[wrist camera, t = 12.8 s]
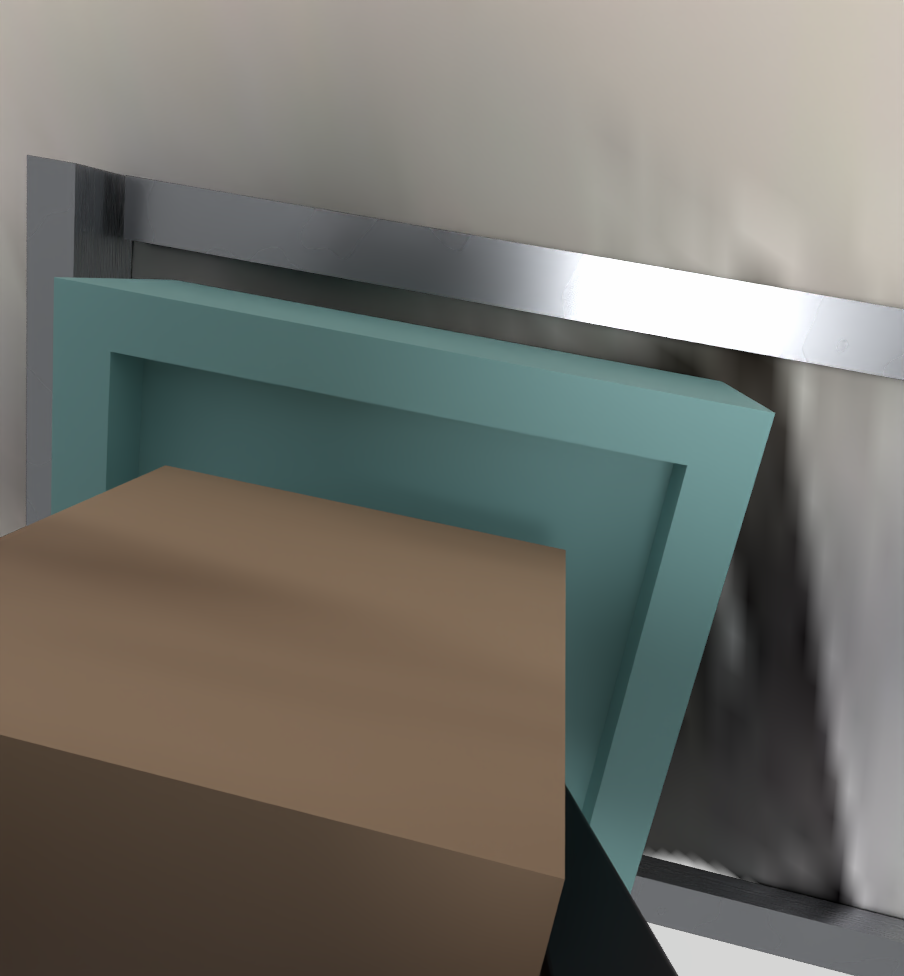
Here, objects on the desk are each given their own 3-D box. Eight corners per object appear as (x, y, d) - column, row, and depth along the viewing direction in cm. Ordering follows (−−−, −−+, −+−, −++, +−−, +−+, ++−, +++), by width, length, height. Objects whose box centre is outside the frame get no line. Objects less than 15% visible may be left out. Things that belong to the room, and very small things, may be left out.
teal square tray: (591, 822, 15) (599, 996, 11) (167, 717, 15) (46, 847, 12) (712, 375, 12) (774, 413, 8) (196, 280, 13) (53, 277, 9)
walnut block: (487, 887, 10) (416, 1438, 5) (145, 799, 10) (-208, 1227, 6) (565, 550, 9) (564, 879, 4) (165, 465, 9) (-284, 661, 4)
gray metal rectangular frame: (1129, 1021, 14) (1199, 1110, 12) (77, 752, 16) (25, 801, 15) (1487, 412, 11) (1643, 432, 9) (91, 171, 13) (26, 154, 11)
